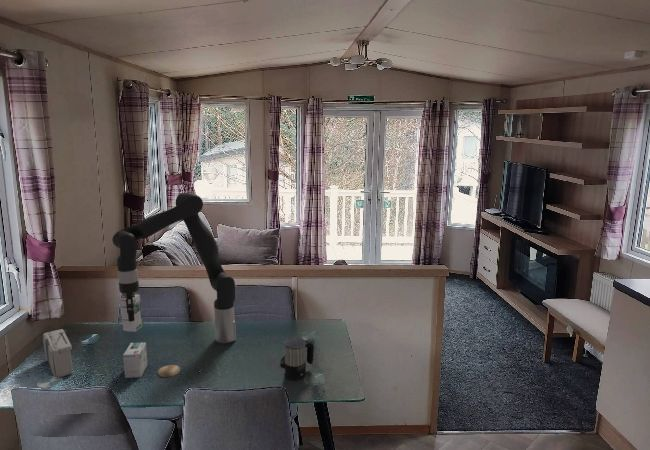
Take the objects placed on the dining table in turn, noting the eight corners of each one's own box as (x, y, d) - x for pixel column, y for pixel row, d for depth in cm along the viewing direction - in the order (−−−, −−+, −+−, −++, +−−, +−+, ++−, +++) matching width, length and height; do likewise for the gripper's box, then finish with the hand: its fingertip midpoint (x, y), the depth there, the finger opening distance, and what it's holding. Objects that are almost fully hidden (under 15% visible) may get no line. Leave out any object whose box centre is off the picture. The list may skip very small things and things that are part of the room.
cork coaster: (179, 364, 211) (179, 363, 211) (180, 375, 203) (180, 374, 203) (157, 368, 208) (157, 367, 208) (158, 378, 200) (158, 377, 200)
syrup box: (135, 332, 198) (132, 299, 195) (122, 330, 199) (119, 297, 196) (143, 326, 204) (140, 293, 200) (130, 324, 205) (127, 292, 201)
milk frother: (297, 383, 198) (297, 350, 194) (267, 372, 206) (266, 340, 202) (316, 368, 210) (316, 336, 206) (287, 358, 218) (287, 327, 214)
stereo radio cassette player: (45, 360, 214) (39, 318, 209) (66, 354, 219) (60, 313, 214) (53, 381, 198) (47, 336, 193) (75, 374, 203) (70, 330, 198)
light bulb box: (132, 364, 211) (130, 342, 208) (148, 364, 211) (146, 341, 209) (124, 378, 200) (122, 354, 198) (141, 377, 201) (139, 354, 199)
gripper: (138, 284, 191) (141, 322, 195) (138, 273, 204) (141, 309, 208) (117, 286, 189) (121, 325, 192) (119, 275, 202) (122, 311, 206)
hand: (132, 317), depth 200 cm, fingers closed on syrup box, 7 cm apart
